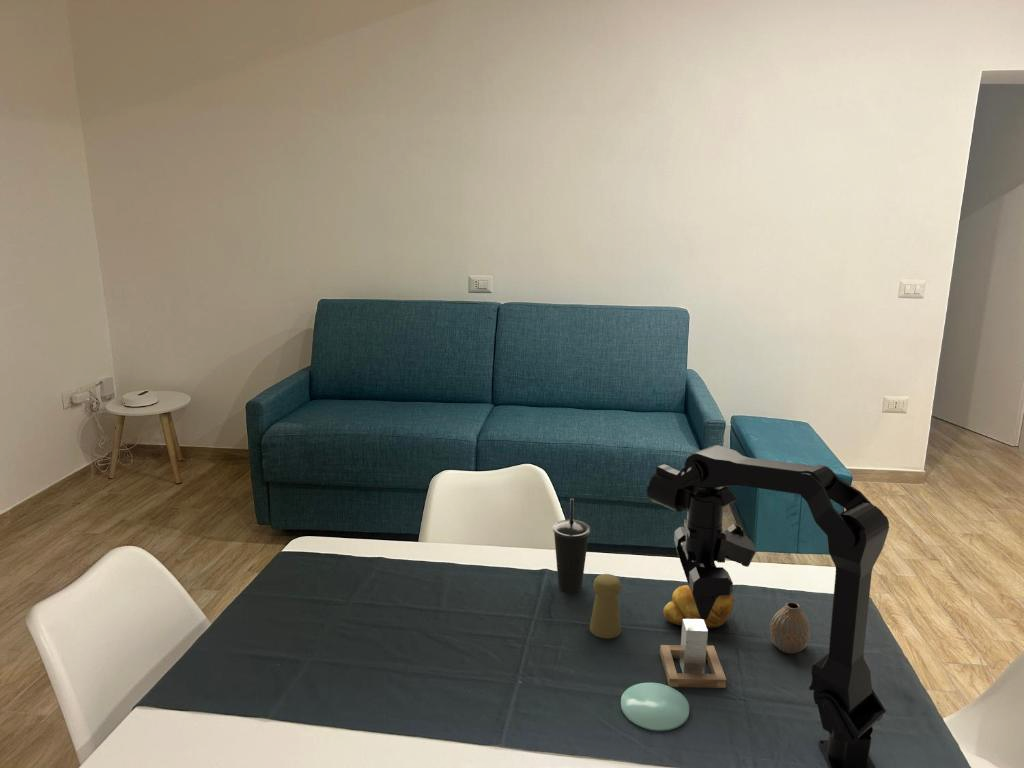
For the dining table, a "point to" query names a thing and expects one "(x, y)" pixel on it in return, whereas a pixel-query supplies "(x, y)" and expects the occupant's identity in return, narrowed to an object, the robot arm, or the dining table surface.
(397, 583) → the dining table surface
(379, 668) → the dining table surface
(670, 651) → the walnut collar
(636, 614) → the dining table surface
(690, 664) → the steel bar
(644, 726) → the teal coaster
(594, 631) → the wooden pepper shaker
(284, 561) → the dining table surface
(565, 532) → the drinking cup
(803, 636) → the vase
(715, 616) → the bread roll
